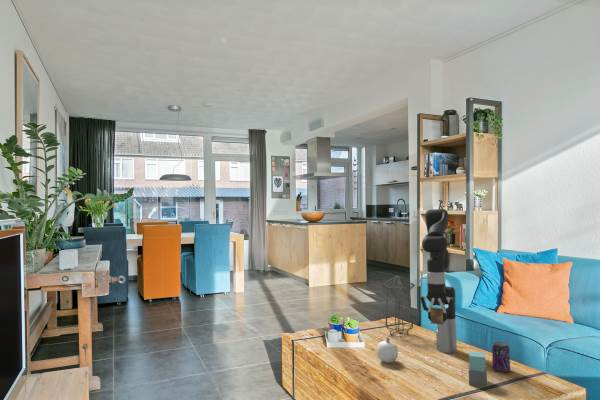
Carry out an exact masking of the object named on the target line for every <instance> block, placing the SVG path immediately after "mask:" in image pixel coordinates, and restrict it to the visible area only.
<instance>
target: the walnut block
mask: <svg viewBox="0 0 600 400" xmlns="http://www.w3.org/2000/svg"><path fill="white" fill-rule="evenodd" d="M430 311H431V321H430V324H433V325H437V324H443V323H444V322H443V310H442V308H441V307H435V306H432V309H431V310H430Z"/></svg>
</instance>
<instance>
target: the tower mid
mask: <svg viewBox="0 0 600 400" xmlns="http://www.w3.org/2000/svg"><path fill="white" fill-rule="evenodd" d="M485 356H486V355H485V352H479V351H472V350H471V351H468V360H469V362H468V363H469V365H470V370H472V371H481V372H485V367H486V357H485Z"/></svg>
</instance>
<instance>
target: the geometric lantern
mask: <svg viewBox="0 0 600 400" xmlns="http://www.w3.org/2000/svg"><path fill="white" fill-rule="evenodd" d="M387 283H388V284H387ZM396 283H397V285H398V287H396V288H395V289H394V286H395V284H396ZM408 283H409V284H408ZM380 286H381V287H383V288H384V289H385V290H386V298H385V299H386V307H385V311H386V312H385V328H386V329H387V330H388V331H389V335H390V336H393V337H398V338H403V337H405V336H408V335H409V332H410V331H411V330H412V329H414V324H413V323H414V321H413V313H412V303H411V302H412V301H411V296H410V291H411V290H412V289H413V288H414V287H415V286H416V284H414V283H413V282H411V281H409V280H407V279H405V278H403V277H402V276H400V275H395V276H394V277H392V278H390V279H388V280H387V281H385V282H383V283H381V284H380ZM400 289H401V290H400ZM398 290H400V292H399V294H396V291H398ZM402 292H404V293H403V295H401V293H402ZM390 293H392V296H389V295H390ZM406 293H407V294H408V296H405V294H406ZM392 297H395V299H392ZM397 297H398V298H397ZM400 297H401V298H400ZM403 298H405V299H403ZM388 300H391V301H395V302H396V303H398V305H395V306H394V307H395V313H394V315H395V316H394V319H395V320H394V322H393V323H390V324H388V304H389V303H388ZM407 300H409V311H410V324H405V323H404V316H403V305H402V301H407ZM393 325H395V328H392V327H390V326H393ZM400 325H401V326H402V328H400ZM404 326H408V327H409V328H406V329H405V328H404ZM394 334H395V335H394ZM396 334H399V335H396Z"/></svg>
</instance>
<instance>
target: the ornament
mask: <svg viewBox="0 0 600 400" xmlns="http://www.w3.org/2000/svg"><path fill="white" fill-rule="evenodd" d="M398 354H399V349H398V347H397V345H396V343H394V341H392V340H390V338H389V337H386V339H385V340H382V341H380V342H379V343H378V344H377V347H376V355H377V358H378V359H379V360H380V361H381V362H383V363H386V364H390V363H393V362H395V361H396V360H397V358H398V356H399V355H398Z"/></svg>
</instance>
